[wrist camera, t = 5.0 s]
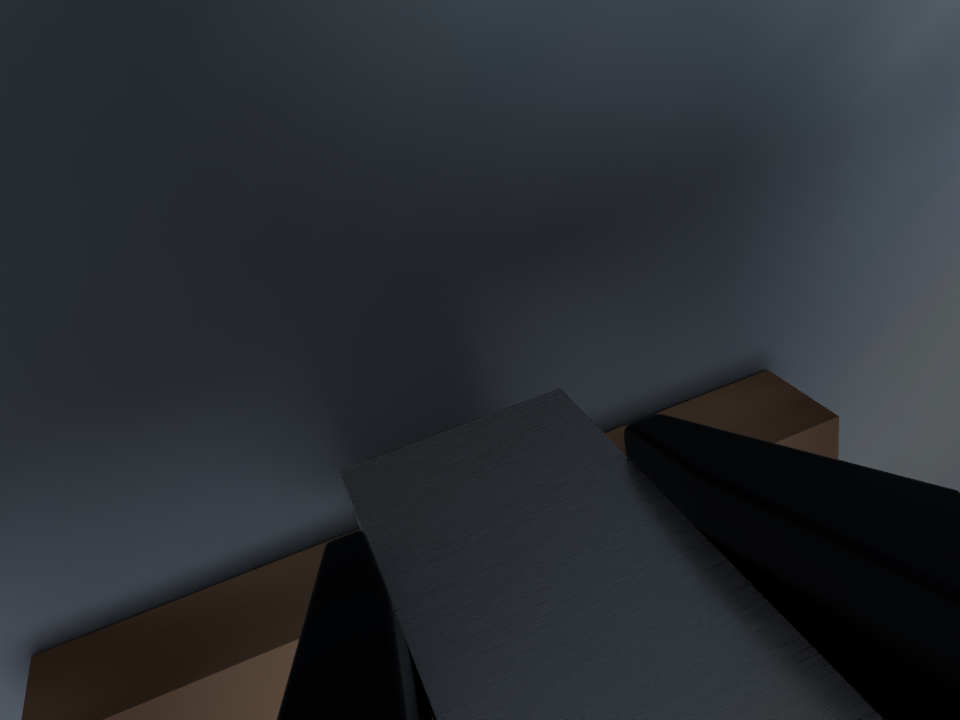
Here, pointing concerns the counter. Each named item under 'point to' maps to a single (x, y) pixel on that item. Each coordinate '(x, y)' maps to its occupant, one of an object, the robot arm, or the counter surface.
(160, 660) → the track board
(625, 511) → the slider
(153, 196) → the counter surface
